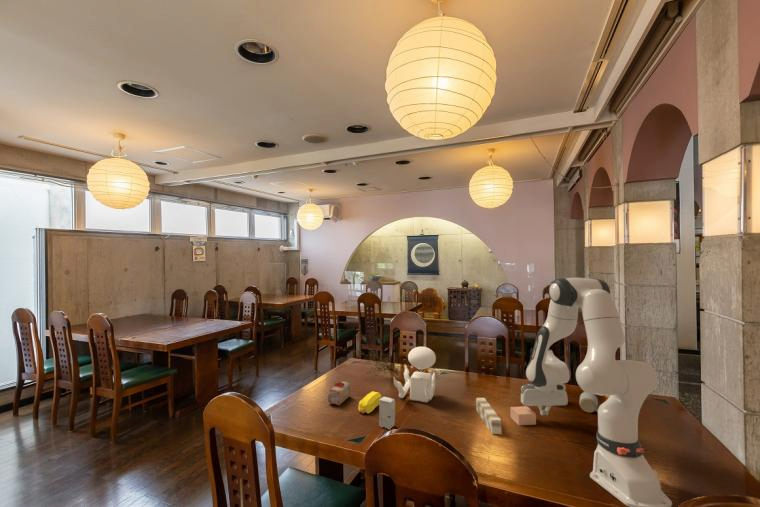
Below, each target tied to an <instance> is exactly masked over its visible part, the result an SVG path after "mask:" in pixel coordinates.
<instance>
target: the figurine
mask: <svg viewBox="0 0 760 507" xmlns="http://www.w3.org/2000/svg"><path fill="white" fill-rule="evenodd" d="M407 358H408V359H407V360H408V362H409V363H410V365H411V366H413V367H414V368H417V369H420V370H422V369H423V370H425V369H429V368H431V367H432V366H434V364H435V363H436V360H437V357H436V353H435V352H434V351H433V350H432V349H431V348H429V347H427V346H416V347H413V348H412V349H411V350H410V351H409V352H408V355H407ZM403 378H404V381H405V383H404V385H403V384H402V382H401V381H398V380H397V379H396V378H395V376H394V375H393V386H394V387H395V388H396V389H397V391H398V398H400V399H404V397H406V395H407V393H408V391H409V400H411V401H416V402H420V403H429V402H430V401H431V400H432V399H433V396H434V395H435V389H436V381H437V380H436V372H435V371H434V372H433V373H429V372H422V371H414V372H413V373H412V374H411V376H410V370H409V368H408V366H407V365H406V364H404V371H403Z"/></svg>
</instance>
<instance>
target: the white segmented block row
mask: <svg viewBox="0 0 760 507" xmlns="http://www.w3.org/2000/svg"><path fill="white" fill-rule="evenodd" d="M475 404H476V405H475V410H476V412H477V414H478V415H479V416H480V417H479V418H480V419H481V420H482V421H483V423H484V424H485V426H486V427H487V429H488V431H489V433H490V434H491V435H492V434H500V435H502V434H503V433H502V419H501V417H499V415H498V414H497V412H496V411H495V410H494V408H493V407H492V406H491V404H490V403H489V402H488V401H487V399H486V398H485V397H475Z"/></svg>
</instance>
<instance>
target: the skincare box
mask: <svg viewBox="0 0 760 507" xmlns="http://www.w3.org/2000/svg"><path fill="white" fill-rule="evenodd" d="M378 406H379V407H378V409H379V410H378V412H379V413H378V414H379V415H378V416H379V418H378V424H379V425H378V426H380V428H383V427H385V428H384V429H386V428H387V429H386V430H392V429H393V428H394V427H395V426H394V425H396V424H395V423H396V421H395V419H396V399H394V398H392V397H388V396H382V398H381V399H380V400H379V405H378ZM393 426H394V427H393ZM392 427H393V428H392ZM391 428H392V429H391Z"/></svg>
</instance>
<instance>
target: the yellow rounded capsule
mask: <svg viewBox="0 0 760 507" xmlns="http://www.w3.org/2000/svg"><path fill="white" fill-rule="evenodd" d="M382 397H383V396H382V394H381V393H380V392H379V391H378V392H376V391H374V390H373V391H370V392H369V393H367V394H366V395H365V396H364V397H363V398H362V399H361V400H360V401H358V411H359V413H361V414H365V413H367V414H369V413H370V414H371V412H373V411H374V410H375V408H377V407H378V406H379V400H380V399H381V398H382Z"/></svg>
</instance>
